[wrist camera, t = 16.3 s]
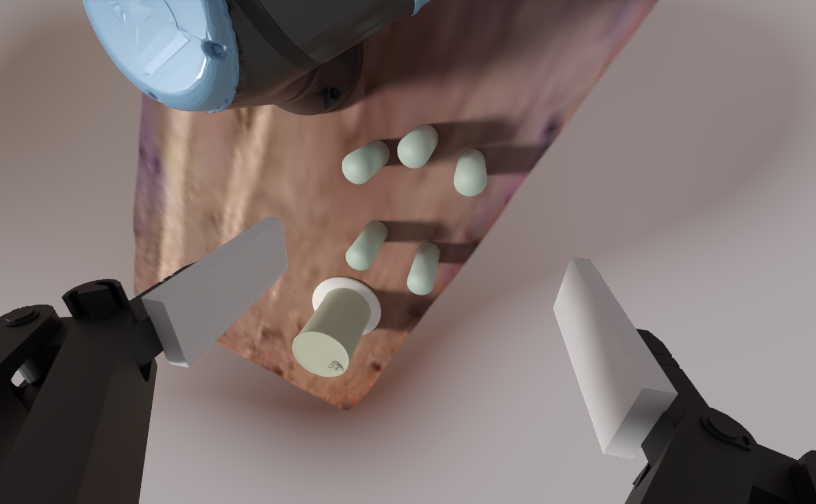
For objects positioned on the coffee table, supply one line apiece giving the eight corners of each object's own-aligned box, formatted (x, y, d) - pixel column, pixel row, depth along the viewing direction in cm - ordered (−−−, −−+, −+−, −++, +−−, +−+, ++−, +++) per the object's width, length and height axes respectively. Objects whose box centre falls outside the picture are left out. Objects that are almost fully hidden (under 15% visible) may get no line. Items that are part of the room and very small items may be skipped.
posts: (366, 253, 53) (347, 283, 45) (364, 119, 43) (340, 127, 35) (467, 268, 50) (465, 302, 43) (490, 129, 41) (494, 141, 33)
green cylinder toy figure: (353, 336, 61) (328, 388, 50) (313, 308, 59) (280, 355, 49) (381, 309, 57) (360, 360, 46) (339, 278, 55) (308, 323, 45)
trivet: (316, 327, 63) (315, 329, 62) (310, 271, 56) (309, 273, 56) (380, 339, 61) (380, 341, 60) (382, 282, 55) (381, 284, 54)
